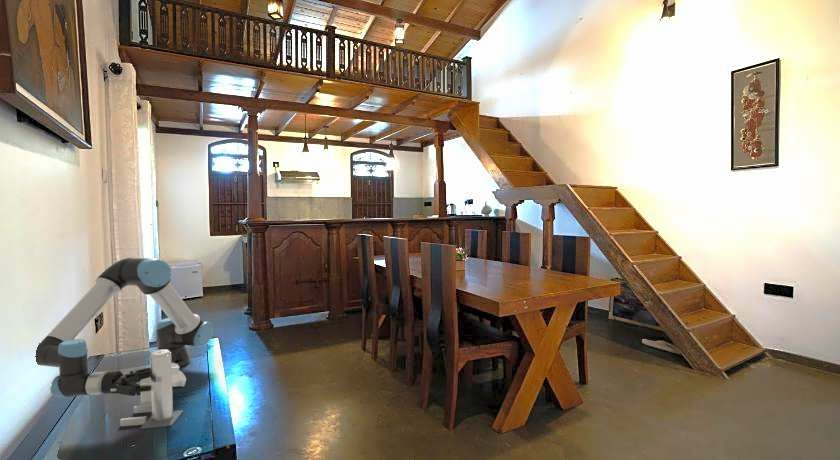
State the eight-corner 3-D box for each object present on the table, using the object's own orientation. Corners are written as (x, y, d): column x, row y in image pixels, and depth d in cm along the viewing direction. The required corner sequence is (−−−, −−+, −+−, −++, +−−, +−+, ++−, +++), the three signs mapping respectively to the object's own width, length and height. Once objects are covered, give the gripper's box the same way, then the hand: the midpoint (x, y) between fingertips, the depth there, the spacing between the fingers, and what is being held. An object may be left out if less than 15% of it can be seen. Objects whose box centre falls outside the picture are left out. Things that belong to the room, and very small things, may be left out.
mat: (154, 414, 150) (154, 412, 150) (183, 411, 151) (183, 410, 151) (140, 428, 140) (140, 427, 140) (171, 425, 142) (171, 424, 142)
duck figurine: (174, 385, 178) (154, 370, 173) (188, 371, 182) (170, 356, 177) (179, 395, 169) (159, 379, 164) (194, 380, 173) (175, 364, 168)
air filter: (162, 423, 142) (160, 355, 140) (147, 421, 143) (145, 354, 142) (177, 414, 148) (175, 349, 147) (162, 412, 150) (160, 347, 148)
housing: (147, 399, 161) (146, 370, 161) (171, 397, 163) (170, 368, 162) (118, 426, 141) (117, 393, 141) (146, 424, 143) (145, 391, 142)
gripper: (125, 377, 154) (185, 373, 158) (83, 410, 129) (155, 404, 133) (124, 359, 154) (184, 355, 157) (82, 388, 129) (154, 382, 133)
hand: (171, 377), depth 145 cm, fingers open, 13 cm apart
